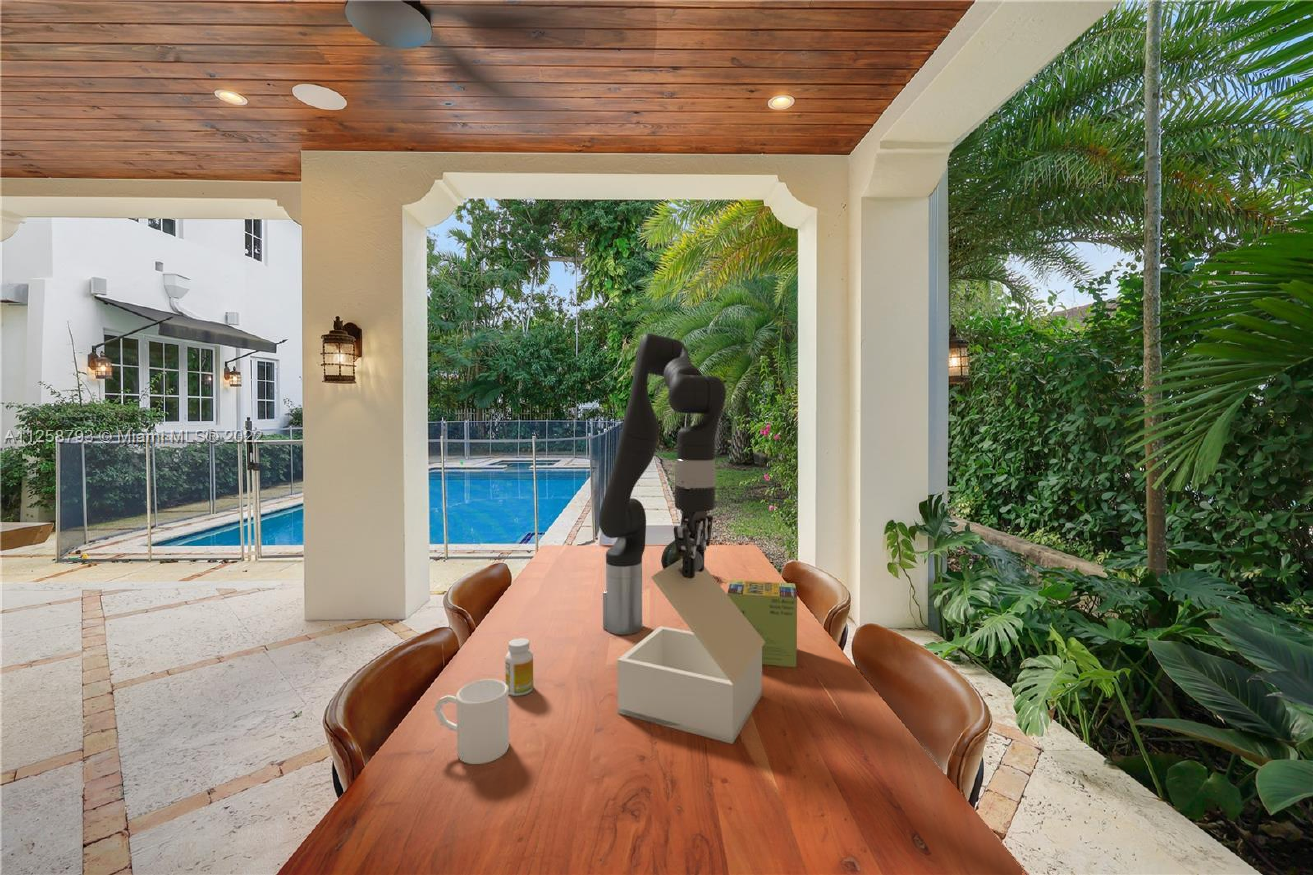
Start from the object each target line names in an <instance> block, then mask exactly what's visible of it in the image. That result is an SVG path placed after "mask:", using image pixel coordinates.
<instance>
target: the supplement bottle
mask: <svg viewBox="0 0 1313 875" xmlns="http://www.w3.org/2000/svg"><path fill="white" fill-rule="evenodd" d="M504 660H505V661H504V663H505V665H504V666H505V667H504V669H505V670H504V671H505V676H504V677H505V683H506V684H507V685H508V691H509V696H512V697H513V696H516V697H519V696H525V695H527V694H529V693H531V692H532V691H533V689H534V655H533V652H532V650H531V649H530V640H529V639H527V638H521V637H519V638H514V639H512V640H510V641H509V642H508V652H507V653H506V654H505V658H504Z"/></svg>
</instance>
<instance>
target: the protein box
mask: <svg viewBox="0 0 1313 875" xmlns="http://www.w3.org/2000/svg"><path fill="white" fill-rule="evenodd" d="M726 594H727V595H728V596H729V597H730V599H731V600H732V601H733V602H734V604H735V605H736V606H737V607H738V609H739V610H740V611H741V612H742V614H743V615H744V616H745V617H746V619H747V620H748V621H749V622H750V624H751V625H752V626H753V627H754V629H755V630H756V631H757V632H758V633H759V635H760V636H761V637H762V638H763V640H764V641H765V643H764V645H763V646H762V665H765V666H766V665H767V666H775V667H776V666H777V667H787V668H796V667H797V662H798V659H797V658H798V656H797V654H798V653H797V652H798V650H797V648H798V593H797V587H796V583H791V582H773V581H772V582H770V581H755V580H754V581H751V580H735V579H734V580H729V586H728V590H727V592H726Z"/></svg>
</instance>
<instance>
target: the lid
mask: <svg viewBox="0 0 1313 875" xmlns="http://www.w3.org/2000/svg"><path fill="white" fill-rule="evenodd" d="M702 566H703V557H702V555H701V554H700V553H699V552H697V551H696V554H695V577H694V578H692V579H691V578H685V577H683V575H682V570H683V558H682V559H680V560H679V561H677V562H675V563H674V564H672V565H670V566H668V567H667V568H665V569H663V568H662V570H660V571H658V572H655V574H653V575H652V576H651V577H650V578H651V580H652V581H653V582H654V583H655V585H656V586H657V587H658V589H659V590H660V592H662V594H663V595H664V597H665V599H666V600H668V602H669V603H670V604H671V605H672V607H673V608H674V609H675V612H677V614H678V615H679V616H680V617H681V619H682V620H683V621H684V622H685V624H686V625H687V626H688V628H689V629H690V631H691V632H693V633H694V634H695V636H696V637H697V638H698V640H699V641H700V642H701V644H702V645H703V646H704V647H705V649H706V650H707V651H708V653H709V654H710V655H711V657H712V658H713V659H714V660H715V662H716V663H717V664H718V666H719V667H720V668H721V670H722V671H723V672H724V674H725V675H726V676H727V677H728V679H729V680H730V681H731V683H732V684H735V683H736V682H737V681H738V679H739V678H740V677H741V675H742V674H743V672H744V671H745V670H746V668H747V667H748V665H749V664H750V663H751V661H752V660H753V659H754V657H755V656H756V654H757V653H758V652H759V650H760V649H761V647H762V646H763V645H764V643H765V641H764V640H763V638H762V637H761V636H760V635H759V633H758V632H757V631H756V630H755V629H754V627H753V626H752V625H751V624H750V622H749V621H748V620H747V619H746V617H745V616H744V615H743V614H742V612H741V611H740V610H739V609H738V607H737V606H736V605H735V604H734V602H733V601H732V600H731V599H730V597H729V596H728V595H727V592H726V591H725V590H724V589H723V588H722V586H721V585H720V584H719V582H718V581H717V580H716V579H715V578H714V576H713V575H712V574H711V573H710V571H709V570H708V569H707V567H705V565H704V570H703V571H702V572H697V571H699V570H700V569H701V568H702Z"/></svg>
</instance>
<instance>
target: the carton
mask: <svg viewBox="0 0 1313 875" xmlns="http://www.w3.org/2000/svg"><path fill="white" fill-rule="evenodd" d="M616 667H617V669H616V670H617V672H616V673H617V674H616V675H617V714H620V715H624V716H627V717H630V718H634V719H638V720H643V721H646V722H649V723H654V724H657V725H660V726H663V727H667V728H670V729H674V730H675V729H676V730H678V731H682V732H686V733H690V734H694V735H698V736H701V737H705V738H708V739H712V740H716V741H719V742H723V743H726V744H730V745H733V744H734V743H735V741H736V739H737V737H738V735H739V734H740V732H741V731H742V729H743V728H744V726H745V724H746V722H747V721H748V719H749V718H750V715H752V713H753V711H754V709H755V707H756V706H757V704H758V703H759V701H760V699H761V697H762V696H763V664H762V647H761V649H760V650H759V652H758V653H757V654H756V656H755V657H754V659H753V660H752V661H751V663H750V664H749V665H748V667H747V668H746V670H745V671H744V672H743V674H742V675H741V677H740V678H739V679H738V681H737V682H736V683H735V684H732V683H731V681H730V680H729V679H728V677H727V676H726V675H725V674H724V672H723V671H722V670H721V668H720V667H719V666H718V664H717V663H716V662H715V660H714V659H713V658H712V657H711V655H710V654H709V653H708V651H707V650H706V649H705V647H704V646H703V645H702V644H701V642H700V641H699V640H698V638H697V637H696V636H695V634H694V633H693V632H692V631H691V630H690V631H689V630H683V629H680V628H679V629H678V628H673V627H667V626H661V625H660V626H658V627H657V628H656V629H654V630H653V631H652V632H650V634H648V635H647V636H646V637H644V638H642V640H640V641H639V642H638V643H637V644H636V645H634V646H633V647H631V648H630V649H628V650H627V652H624V653H623V655H621V656H620V657H618V658H617V666H616Z"/></svg>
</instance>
